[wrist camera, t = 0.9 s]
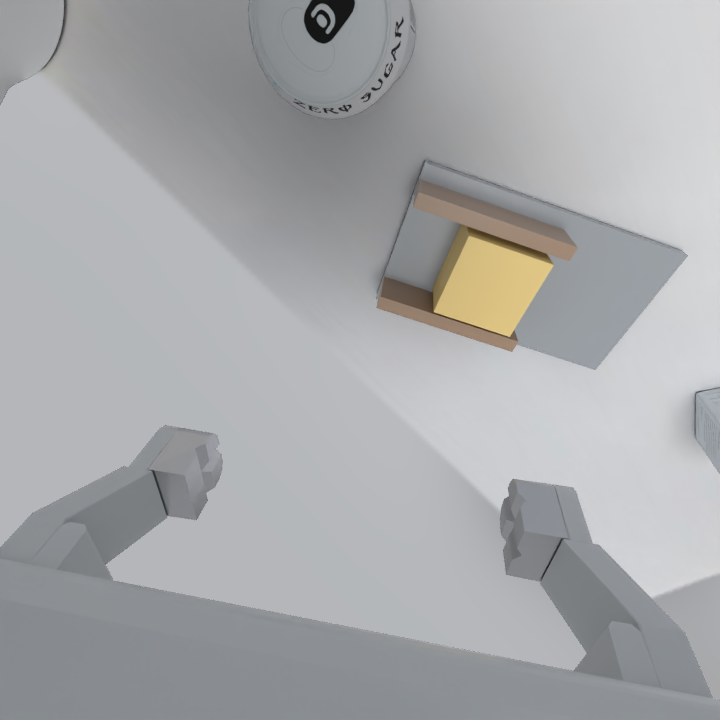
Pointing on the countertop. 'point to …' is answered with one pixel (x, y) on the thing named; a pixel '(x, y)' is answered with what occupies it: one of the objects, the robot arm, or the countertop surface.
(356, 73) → the energy drink can
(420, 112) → the countertop surface
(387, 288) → the chute
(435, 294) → the ochre block
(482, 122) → the countertop surface
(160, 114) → the countertop surface
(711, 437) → the skincare box
